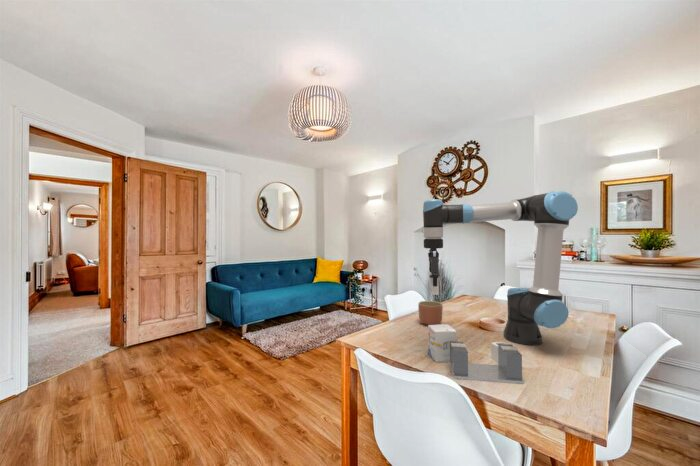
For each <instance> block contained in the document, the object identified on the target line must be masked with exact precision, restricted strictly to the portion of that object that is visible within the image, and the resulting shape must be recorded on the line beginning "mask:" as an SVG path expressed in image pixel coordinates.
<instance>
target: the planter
mask: <svg viewBox="0 0 700 466" xmlns="http://www.w3.org/2000/svg"><path fill="white" fill-rule="evenodd" d="M417 308H418V318H419V321H420V323H422V324H423V325H425V326H428V325H439V324H441V323H442V321H443V308H444V306H443V303H442V302H439V301H437V300H436V301H435V300H423V301H422V300H421V301H419V302H418V307H417Z"/></svg>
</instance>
